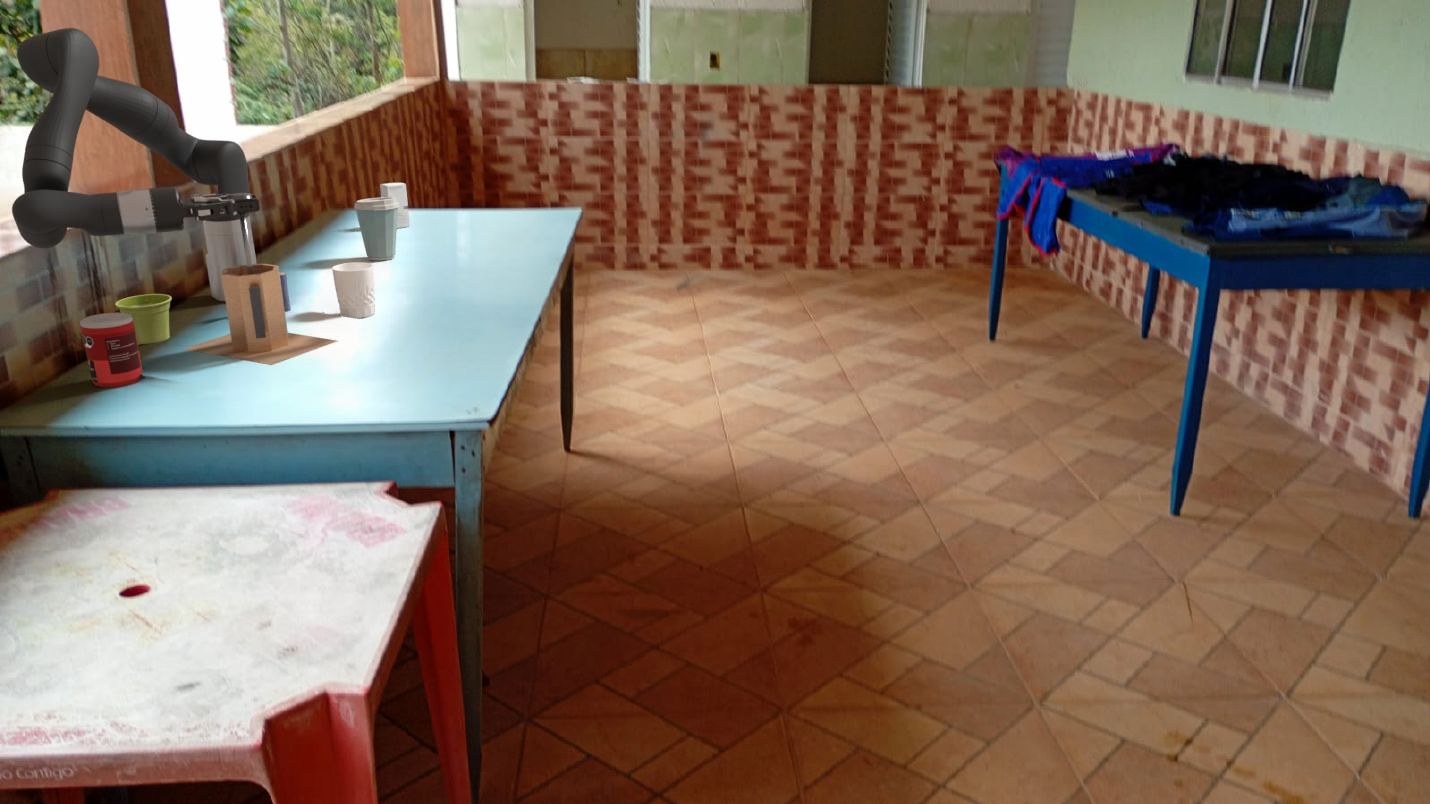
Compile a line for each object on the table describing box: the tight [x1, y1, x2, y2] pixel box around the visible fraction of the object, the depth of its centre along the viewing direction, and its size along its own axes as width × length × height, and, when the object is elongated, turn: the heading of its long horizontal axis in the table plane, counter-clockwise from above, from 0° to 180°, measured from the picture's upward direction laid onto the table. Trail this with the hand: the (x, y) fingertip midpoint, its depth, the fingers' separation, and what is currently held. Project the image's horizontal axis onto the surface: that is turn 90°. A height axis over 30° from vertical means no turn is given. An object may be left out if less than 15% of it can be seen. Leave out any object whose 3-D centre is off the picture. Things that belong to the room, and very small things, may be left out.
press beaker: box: [221, 263, 289, 353], centre depth 205 cm, size 11×10×14 cm
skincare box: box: [379, 181, 411, 229], centre depth 318 cm, size 6×4×12 cm
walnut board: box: [183, 332, 338, 366], centre depth 208 cm, size 22×16×1 cm
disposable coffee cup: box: [354, 196, 400, 262], centre depth 279 cm, size 11×11×15 cm
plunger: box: [227, 193, 254, 275], centre depth 203 cm, size 6×6×23 cm
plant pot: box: [114, 293, 173, 346], centre depth 211 cm, size 9×9×9 cm
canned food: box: [79, 312, 144, 388], centre depth 191 cm, size 8×8×11 cm
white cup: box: [331, 261, 376, 319], centre depth 230 cm, size 8×8×10 cm
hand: (257, 202), depth 201 cm, fingers closed on plunger, 4 cm apart
